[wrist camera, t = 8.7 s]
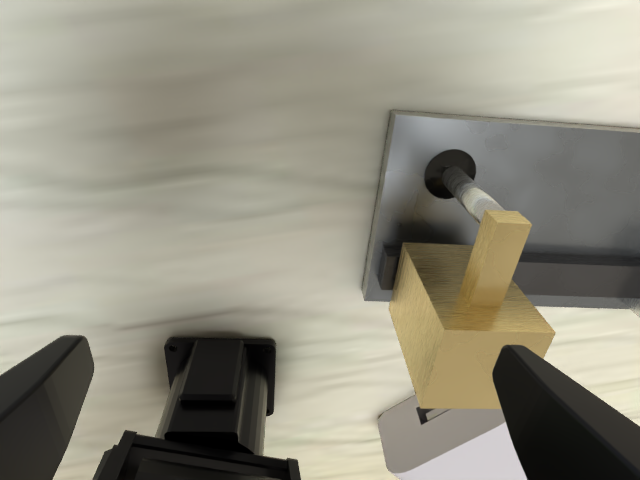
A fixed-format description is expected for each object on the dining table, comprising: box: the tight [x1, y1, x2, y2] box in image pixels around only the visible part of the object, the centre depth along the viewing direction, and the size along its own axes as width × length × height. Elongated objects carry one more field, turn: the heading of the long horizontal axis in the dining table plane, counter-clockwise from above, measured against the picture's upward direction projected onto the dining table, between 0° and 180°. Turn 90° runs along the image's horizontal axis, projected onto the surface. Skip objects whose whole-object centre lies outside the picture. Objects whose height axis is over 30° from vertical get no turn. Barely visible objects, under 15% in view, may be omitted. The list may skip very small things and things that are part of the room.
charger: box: [378, 394, 527, 480], centre depth 28 cm, size 5×9×15 cm
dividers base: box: [362, 110, 640, 317], centre depth 20 cm, size 10×20×4 cm, turn 85°
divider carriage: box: [389, 166, 555, 409], centre depth 17 cm, size 8×4×7 cm, turn 175°
